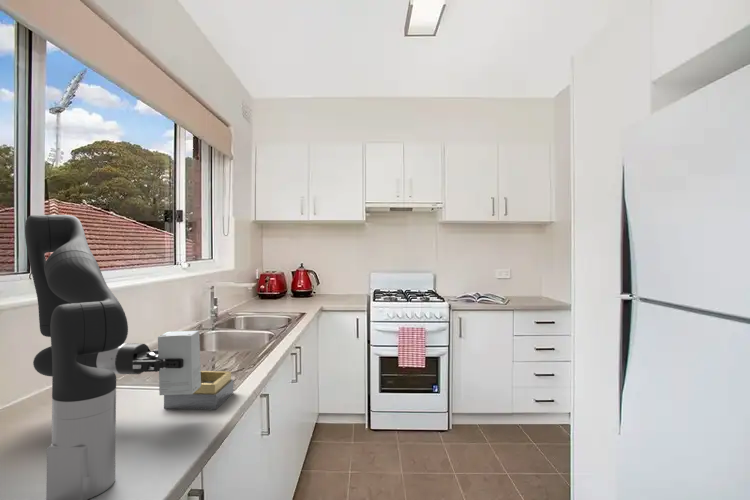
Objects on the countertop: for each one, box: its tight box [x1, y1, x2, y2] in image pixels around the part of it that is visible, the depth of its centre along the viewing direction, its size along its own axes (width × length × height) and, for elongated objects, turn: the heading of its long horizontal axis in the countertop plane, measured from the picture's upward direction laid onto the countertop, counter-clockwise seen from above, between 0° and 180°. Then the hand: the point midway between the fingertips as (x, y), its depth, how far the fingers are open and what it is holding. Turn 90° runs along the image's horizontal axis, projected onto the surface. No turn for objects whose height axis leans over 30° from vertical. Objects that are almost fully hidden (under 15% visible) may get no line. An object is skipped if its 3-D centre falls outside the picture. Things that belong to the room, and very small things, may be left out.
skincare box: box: [157, 330, 202, 396], centre depth 98 cm, size 8×6×15 cm
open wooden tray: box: [163, 370, 234, 411], centre depth 111 cm, size 15×14×6 cm
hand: (189, 359), depth 98 cm, fingers closed on skincare box, 6 cm apart
